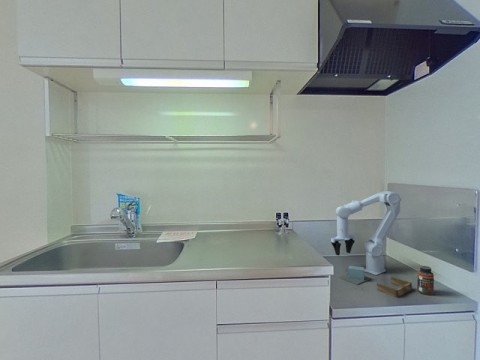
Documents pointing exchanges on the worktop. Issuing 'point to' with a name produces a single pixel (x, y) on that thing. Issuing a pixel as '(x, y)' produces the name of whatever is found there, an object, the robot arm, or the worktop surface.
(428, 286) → the supplement bottle
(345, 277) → the mat
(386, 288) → the arch frame
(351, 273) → the block
